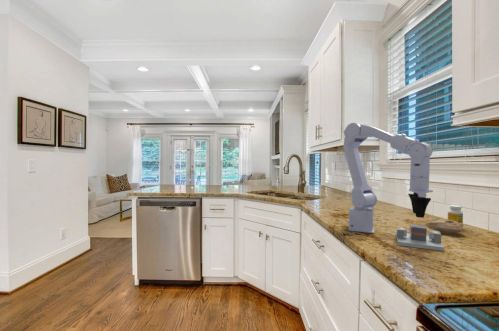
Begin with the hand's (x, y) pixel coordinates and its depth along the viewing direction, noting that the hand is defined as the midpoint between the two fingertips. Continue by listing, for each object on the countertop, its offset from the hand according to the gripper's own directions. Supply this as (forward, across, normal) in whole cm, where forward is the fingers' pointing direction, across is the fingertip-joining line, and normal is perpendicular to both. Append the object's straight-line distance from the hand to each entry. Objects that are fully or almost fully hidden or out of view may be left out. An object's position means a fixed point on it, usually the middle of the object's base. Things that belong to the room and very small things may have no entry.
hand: (418, 215), depth 97 cm
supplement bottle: (+10, +33, -18) cm, 39 cm away
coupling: (+8, 0, 0) cm, 8 cm away
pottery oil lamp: (+10, +21, -12) cm, 26 cm away
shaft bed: (+10, 0, 0) cm, 10 cm away
